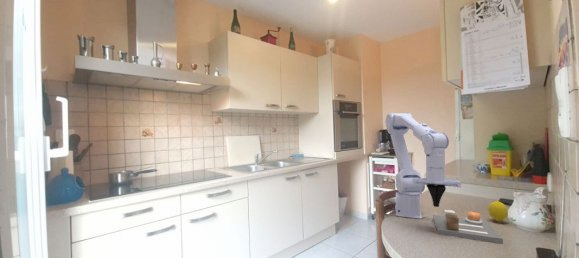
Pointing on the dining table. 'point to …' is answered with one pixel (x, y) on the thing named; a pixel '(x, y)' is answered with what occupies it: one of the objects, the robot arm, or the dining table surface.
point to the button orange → (473, 215)
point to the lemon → (498, 211)
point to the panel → (468, 229)
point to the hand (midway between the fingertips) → (436, 206)
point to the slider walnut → (452, 222)
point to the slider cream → (448, 213)
